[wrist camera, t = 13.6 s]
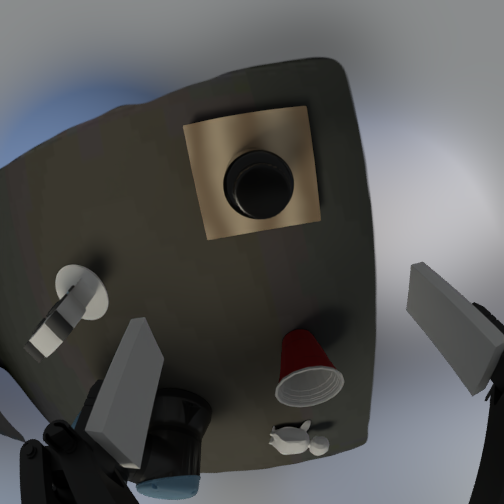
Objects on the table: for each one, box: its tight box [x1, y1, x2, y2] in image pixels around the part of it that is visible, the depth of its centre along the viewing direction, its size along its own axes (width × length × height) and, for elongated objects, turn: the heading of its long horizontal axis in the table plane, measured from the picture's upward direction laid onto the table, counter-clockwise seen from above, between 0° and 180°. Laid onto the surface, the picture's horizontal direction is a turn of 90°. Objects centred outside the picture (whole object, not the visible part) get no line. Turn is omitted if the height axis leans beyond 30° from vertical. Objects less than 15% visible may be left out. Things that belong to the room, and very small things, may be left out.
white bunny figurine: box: [269, 420, 329, 456], centre depth 60 cm, size 8×8×15 cm
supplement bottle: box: [223, 147, 294, 220], centre depth 29 cm, size 7×7×12 cm
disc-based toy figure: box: [24, 264, 109, 363], centre depth 37 cm, size 12×11×15 cm
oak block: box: [183, 106, 321, 240], centre depth 36 cm, size 15×15×4 cm
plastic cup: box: [275, 329, 344, 407], centre depth 45 cm, size 11×11×12 cm
